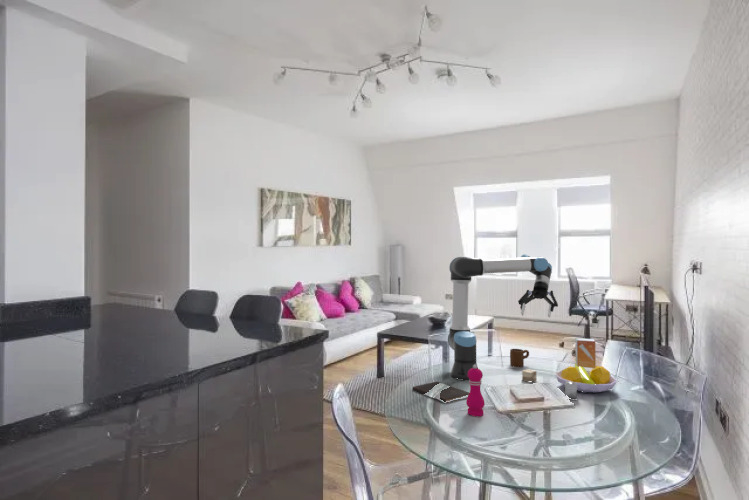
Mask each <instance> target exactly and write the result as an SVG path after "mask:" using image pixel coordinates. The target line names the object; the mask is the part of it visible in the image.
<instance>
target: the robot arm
mask: <svg viewBox="0 0 749 500" xmlns="http://www.w3.org/2000/svg"><path fill="white" fill-rule="evenodd" d="M448 268H449V272H450V281H451V282H452V290H453V291H452V321H451V322H452V324H451V325H450V326H449V333H448V336H447V343H448V345H449V347H450V348H451V349H452V350H453V352H454V355H453V358H454V362H453V365H452V368H451V370H450V371H451V372H450V376H451V378H453V379H454V378H458V379H463V380H462V381H465V380H470V379H469V377H468V371H469V370H470V369H471V368H473V365H474V364H476V365H477V368H478V369H479V367H478V364H477V341H478V340H477V335H476V334H475V333H473V332H471V328H470V327H469V326H468V322H469V319H468V317H469V315H468V313H469V284H470V283H471V282H472V277H479V276H480V277H481V276H484V274H502V273H525V272H530V273H531V274H533V275H534V276H535V280H534V285H533V289H532V290H530V289H526V292H525V293H524V294H523V295H522V296H521V297H520V298H519V300H518V301H517V302H518V305H520V314H521V316H524V315H525V311H526V305H527V304H529V303H530V302H531V301H533V300H535V299H537V300H538V299H539V300H542V299H543V300H544V301H546V302H547V304H549V305H548V310H547V317H548V318H551V313H552V312H554V310H555V309H554V308H557V307H559V303H558V301H557V300H556V297H555V296H554V291H553V290H550V291H549V286H550V279H551V277H552V273H553V272H552V271H553V266H552V264H551V263H550V262H548V259H547V258H546V257H542V256H537V257H536V256H535V257H531V256H530V255H527V254H522V255H521V256H520V257H515V258H511V257H510V258H496V259H495V258H494V259H491V258H489V259H483V258H482V257H469V256H468V257H467V256H458V257H457V256H456V257H454V259H452V261H451V262H450V263H449V267H448ZM548 295H549V296H550V298H551V299H550V298H549V297H548ZM458 379H457V380H458Z"/></svg>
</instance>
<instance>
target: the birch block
mask: <svg viewBox="0 0 749 500" xmlns="http://www.w3.org/2000/svg"><path fill="white" fill-rule="evenodd" d="M521 375H522V376H521V377H522V381H524V380H526V381H525V382H528V381H534V382H537V376H538V375H537V371H536V370H534V369H533V370H532V369H530V368H528V369H523V370H522V372H521Z"/></svg>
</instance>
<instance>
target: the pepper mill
mask: <svg viewBox="0 0 749 500" xmlns="http://www.w3.org/2000/svg"><path fill="white" fill-rule="evenodd" d="M477 366H478V364H477V365H476V364H474V365H473V368H471V369H470V370H469V371H468V377H469V379H470V380H469V382H468V384H469V385H470V387H469V395H468V397H467V398H466V403H465V404H466V405H467V407H468V408H467V415H469V414H470V415H469V416H471V415H472V417H476V416H478V417H482V416H484V409H483V408H484V407H485V399H484V396H483V394H482V392H481V385H482V384H483V383H482V379H483V372H482V370H481V369H480V368H479V367H478V368H477Z"/></svg>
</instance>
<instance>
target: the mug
mask: <svg viewBox="0 0 749 500" xmlns="http://www.w3.org/2000/svg"><path fill="white" fill-rule="evenodd" d="M509 351H510V352H509V364H510V366H511V367H513V366H514V368H523V367H524V363H525V361H524V360H526V359H528V358H529V356H530V351H529V350H527V349H521V348H520V349H519V348H511V349H510V350H509ZM524 354H525V355H524Z"/></svg>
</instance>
